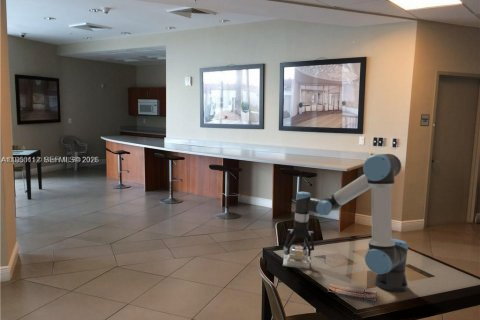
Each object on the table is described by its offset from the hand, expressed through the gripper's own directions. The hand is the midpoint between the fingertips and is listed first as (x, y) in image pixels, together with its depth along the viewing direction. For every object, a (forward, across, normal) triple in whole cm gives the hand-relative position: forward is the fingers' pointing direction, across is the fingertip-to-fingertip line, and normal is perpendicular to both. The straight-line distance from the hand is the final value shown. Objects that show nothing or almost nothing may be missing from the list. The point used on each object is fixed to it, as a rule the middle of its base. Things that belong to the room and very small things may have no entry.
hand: (298, 260), depth 209 cm
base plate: (+1, +1, -9) cm, 9 cm away
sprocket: (0, +1, -15) cm, 15 cm away
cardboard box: (0, 0, 0) cm, 1 cm away
